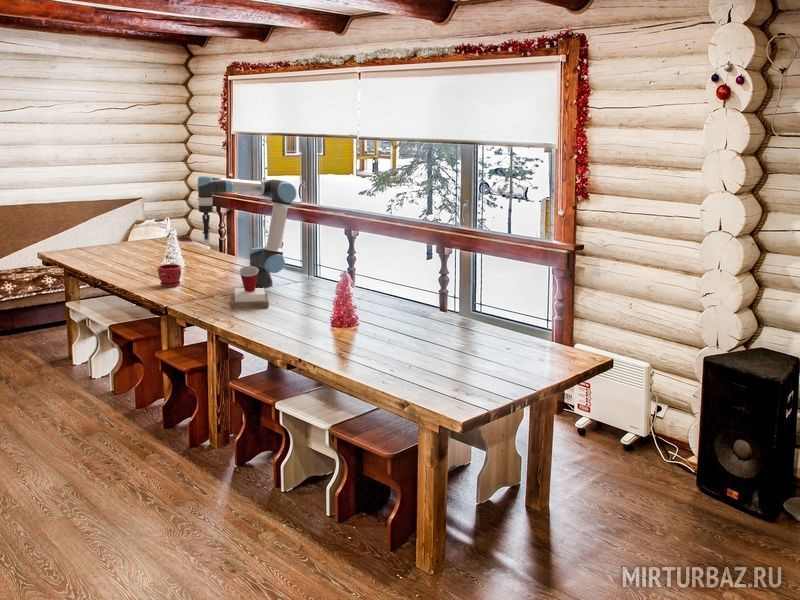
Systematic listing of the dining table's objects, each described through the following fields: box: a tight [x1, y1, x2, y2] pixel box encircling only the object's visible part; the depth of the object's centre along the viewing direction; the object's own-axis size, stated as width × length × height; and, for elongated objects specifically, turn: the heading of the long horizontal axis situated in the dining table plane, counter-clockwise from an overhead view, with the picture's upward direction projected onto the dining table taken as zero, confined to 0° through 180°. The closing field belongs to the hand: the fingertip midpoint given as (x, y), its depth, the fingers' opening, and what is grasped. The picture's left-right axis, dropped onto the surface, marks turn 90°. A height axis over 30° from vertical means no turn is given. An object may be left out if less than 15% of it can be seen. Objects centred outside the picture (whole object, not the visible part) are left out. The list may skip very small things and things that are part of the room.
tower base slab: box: [230, 293, 270, 310], centre depth 444 cm, size 20×20×4 cm
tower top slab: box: [234, 287, 266, 302], centre depth 443 cm, size 16×16×4 cm
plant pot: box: [157, 263, 182, 288], centre depth 479 cm, size 13×13×12 cm
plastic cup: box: [238, 265, 259, 292], centre depth 440 cm, size 11×11×12 cm
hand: (206, 243), depth 446 cm, fingers open, 13 cm apart
